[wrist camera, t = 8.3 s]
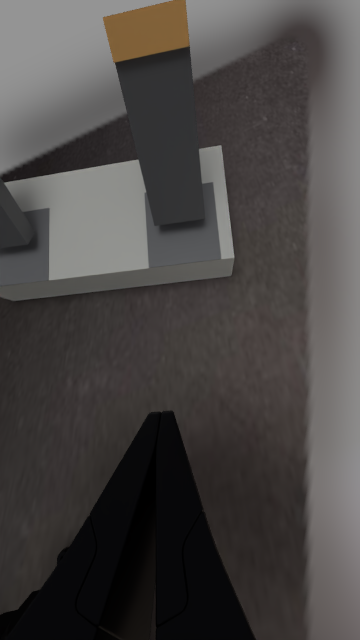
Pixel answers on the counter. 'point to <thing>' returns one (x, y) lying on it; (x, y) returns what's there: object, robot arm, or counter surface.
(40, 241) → the grey mounting base
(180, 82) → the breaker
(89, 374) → the counter surface
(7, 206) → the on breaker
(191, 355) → the counter surface
